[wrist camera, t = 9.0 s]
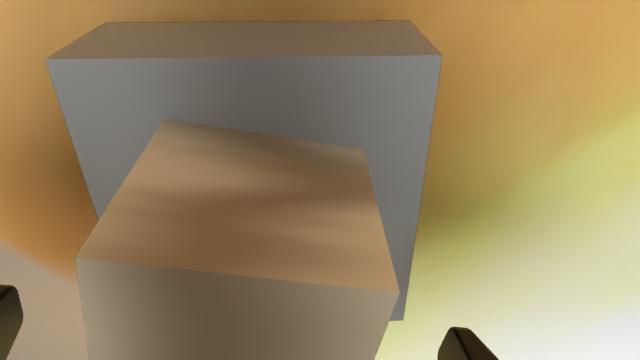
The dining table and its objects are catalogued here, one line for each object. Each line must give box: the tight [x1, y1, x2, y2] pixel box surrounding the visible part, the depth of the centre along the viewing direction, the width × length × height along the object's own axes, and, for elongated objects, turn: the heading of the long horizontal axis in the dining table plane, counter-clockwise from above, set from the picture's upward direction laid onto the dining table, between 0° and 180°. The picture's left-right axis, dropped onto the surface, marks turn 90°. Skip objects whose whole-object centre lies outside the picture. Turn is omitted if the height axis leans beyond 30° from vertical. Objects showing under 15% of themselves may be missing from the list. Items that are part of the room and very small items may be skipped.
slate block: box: [45, 20, 442, 321], centre depth 14 cm, size 9×9×4 cm
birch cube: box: [75, 119, 400, 360], centre depth 10 cm, size 5×5×5 cm
